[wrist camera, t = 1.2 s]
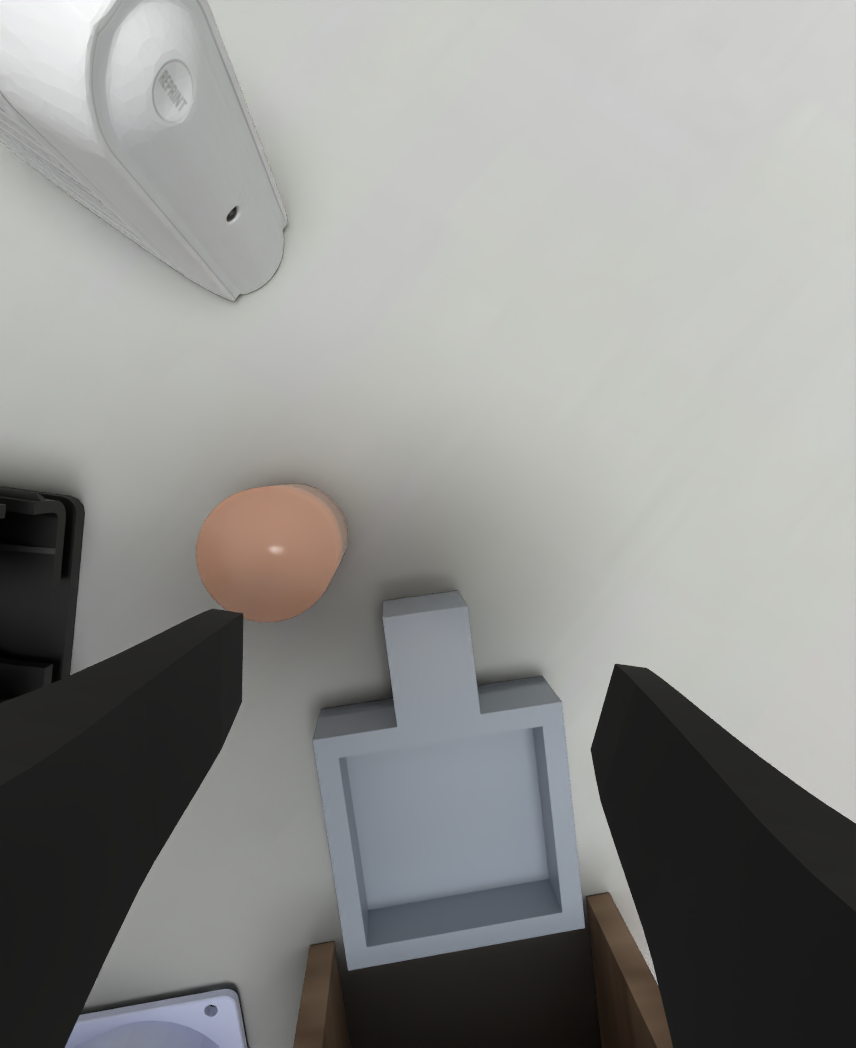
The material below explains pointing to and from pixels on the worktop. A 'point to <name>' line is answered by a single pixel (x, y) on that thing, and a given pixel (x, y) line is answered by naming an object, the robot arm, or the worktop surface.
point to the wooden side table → (620, 977)
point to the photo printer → (144, 130)
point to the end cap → (37, 587)
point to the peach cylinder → (271, 550)
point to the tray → (447, 800)
